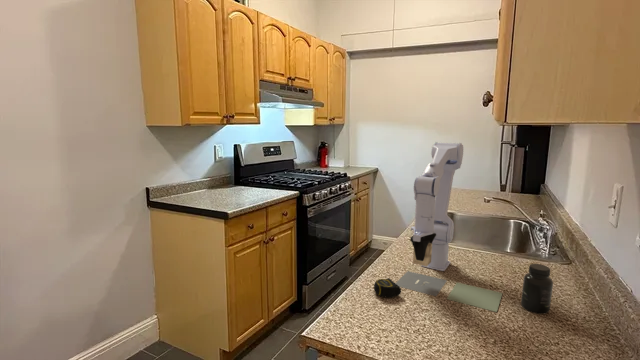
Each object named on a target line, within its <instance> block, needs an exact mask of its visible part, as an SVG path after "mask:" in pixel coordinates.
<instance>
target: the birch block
mask: <svg viewBox="0 0 640 360" xmlns="http://www.w3.org/2000/svg"><path fill="white" fill-rule="evenodd" d="M412 254H413V255H412V260H413V261H412V264H415V265H418V266H419V265H420V266H421V265H423V266H428V265H429V264H430V262H431V255H432V243H429V244H428V246H427V248H426V253H425V257H424V260H423V261H420V260H416V256H415V251H414V250H413V253H412ZM423 266H422V267H423Z"/></svg>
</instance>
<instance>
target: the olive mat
mask: <svg viewBox="0 0 640 360" xmlns="http://www.w3.org/2000/svg"><path fill="white" fill-rule="evenodd" d="M502 297H503V292H499V291H495V290H491V289H487V288H484V287H483V288H482V287H477V286H474V285H470V284H465V283H462V282H458V281H456V283H455V285H454V286H453V288H452V290H451V291H450V293H449V294H448V296H447V298H446V300H449V301H451V302H452V301H453V302H457V303H460V304H465V305H468V306H471V307H476V308H479V309H483V310H486V311H488V312H489V311H490V312H493V313H498V309H499V307H500V303H501V299H502Z"/></svg>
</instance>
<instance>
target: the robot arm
mask: <svg viewBox="0 0 640 360" xmlns="http://www.w3.org/2000/svg"><path fill="white" fill-rule="evenodd" d="M430 154H431V158H432V160H431V162H429V163H428V164H427V165H426V166H425V168H424V170H423V172H422V174H421V175H419V176H418V177H416V178H415V179H414V182H413V194H414V197H413V198H414V201H415V210H414V211H415V212H414V226H411V227H410V231H413V234H412V236H410V238H409V239H410V242H411V244H412V248H413V252H414V251H415V256H416V260H420V261H423V260H424V257H425V253H426V248H427V246H428V244H429V243H432V255H431V262H430V264H429V265H428V266H423V265H420V267H424V268H428V269H432V270H437V271H442V272H445V271H446V270H447V268H448V267H449V265H450V264H451V261H449V250H450V246H449V245H450V243H451V242H452V241H453V238H454V233H455V231H454V230H455V229H454V227H455V223H454V221H453V219H452V218H451V217H450V216H449V215H448V213H449V212H448V211H449V207H450V206H449V205H450V201H451V200H450V198H451V194H452V187H453V180H454V176H455V173H456V171H457V170H459V169H461V167H462V164H463V163H462V162H463V159H464V158H463V156H464V145H463V144H462V142H459V143H458V142H457V143H456V142H438V141H435V142H434V143H433V144H432V146H431V153H430Z"/></svg>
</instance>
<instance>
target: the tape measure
mask: <svg viewBox="0 0 640 360" xmlns="http://www.w3.org/2000/svg"><path fill="white" fill-rule="evenodd" d="M395 283H396V282H394V281H393V280H392V279H391V278H379V279H376V280H375V282H374V285H373V290H374V293H375V294H376V295H378V296H380V297H382V298H393V297H397V296H399V295H401V293H402V287H399V286H398V285H397V284H395Z"/></svg>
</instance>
